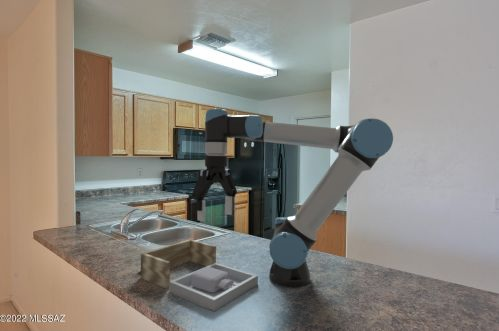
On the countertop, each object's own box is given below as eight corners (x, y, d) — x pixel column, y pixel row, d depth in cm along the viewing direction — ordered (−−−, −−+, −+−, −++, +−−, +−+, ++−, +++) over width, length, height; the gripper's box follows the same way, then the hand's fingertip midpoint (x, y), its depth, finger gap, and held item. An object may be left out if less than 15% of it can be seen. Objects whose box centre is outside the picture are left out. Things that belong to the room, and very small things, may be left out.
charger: (225, 299, 91) (190, 287, 99) (242, 288, 98) (208, 278, 107) (225, 284, 91) (191, 273, 99) (242, 274, 98) (209, 265, 107)
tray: (257, 285, 102) (257, 275, 102) (214, 311, 84) (214, 300, 84) (215, 271, 114) (215, 262, 114) (169, 292, 96) (169, 281, 96)
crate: (215, 267, 118) (216, 245, 118) (166, 288, 99) (167, 262, 99) (190, 259, 128) (190, 239, 127) (140, 277, 108) (140, 253, 108)
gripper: (231, 155, 111) (230, 210, 111) (180, 154, 90) (179, 221, 91) (246, 155, 106) (246, 213, 107) (196, 154, 86) (196, 225, 87)
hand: (215, 217), depth 99 cm, fingers open, 13 cm apart
